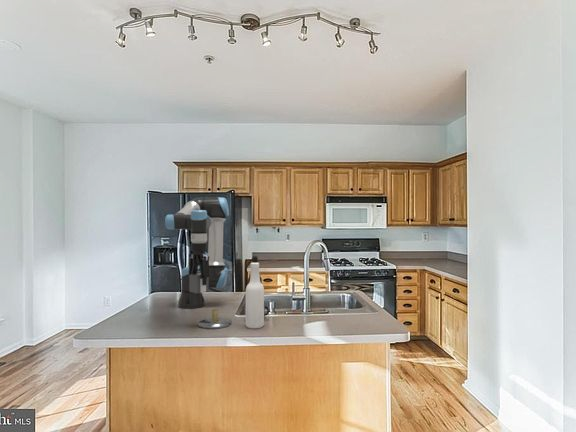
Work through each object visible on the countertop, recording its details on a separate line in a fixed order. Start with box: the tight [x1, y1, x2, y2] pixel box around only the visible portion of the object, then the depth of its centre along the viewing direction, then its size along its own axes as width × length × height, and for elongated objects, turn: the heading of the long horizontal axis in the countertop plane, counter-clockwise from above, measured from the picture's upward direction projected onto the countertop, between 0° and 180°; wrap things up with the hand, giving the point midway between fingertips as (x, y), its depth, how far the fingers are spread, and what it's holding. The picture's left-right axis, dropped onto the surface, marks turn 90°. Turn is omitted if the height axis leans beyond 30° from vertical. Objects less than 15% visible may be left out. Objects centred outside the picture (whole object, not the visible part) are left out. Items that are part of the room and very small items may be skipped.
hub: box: [197, 308, 233, 330], centre depth 178 cm, size 16×16×7 cm
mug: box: [264, 300, 270, 320], centre depth 187 cm, size 9×12×9 cm
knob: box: [189, 273, 210, 294], centre depth 175 cm, size 6×6×9 cm
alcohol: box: [245, 262, 265, 330], centre depth 175 cm, size 9×9×30 cm
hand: (198, 290), depth 175 cm, fingers closed on knob, 6 cm apart
